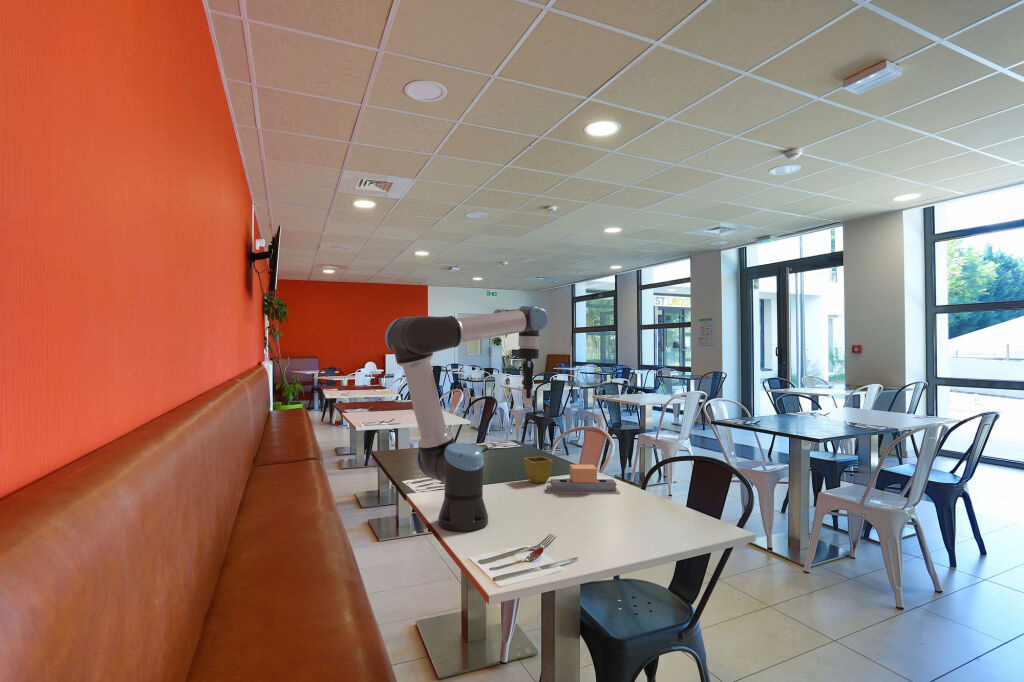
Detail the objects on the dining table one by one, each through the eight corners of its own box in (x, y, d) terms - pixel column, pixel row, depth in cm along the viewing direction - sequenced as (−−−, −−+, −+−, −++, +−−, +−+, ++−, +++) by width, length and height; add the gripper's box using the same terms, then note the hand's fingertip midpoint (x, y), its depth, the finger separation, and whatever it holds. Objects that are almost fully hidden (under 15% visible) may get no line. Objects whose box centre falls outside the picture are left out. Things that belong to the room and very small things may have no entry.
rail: (620, 493, 191) (620, 484, 191) (550, 493, 190) (550, 484, 190) (613, 486, 201) (614, 477, 201) (547, 486, 200) (547, 477, 200)
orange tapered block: (593, 486, 199) (593, 464, 200) (596, 491, 192) (596, 468, 193) (569, 486, 199) (569, 464, 199) (572, 491, 192) (572, 468, 192)
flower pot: (523, 480, 209) (523, 457, 209) (542, 477, 213) (542, 456, 213) (533, 485, 201) (533, 462, 201) (552, 483, 205) (553, 460, 205)
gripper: (541, 348, 179) (539, 409, 179) (536, 348, 204) (535, 402, 204) (519, 347, 179) (518, 409, 179) (517, 347, 204) (515, 401, 204)
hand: (527, 405), depth 191 cm, fingers open, 13 cm apart
